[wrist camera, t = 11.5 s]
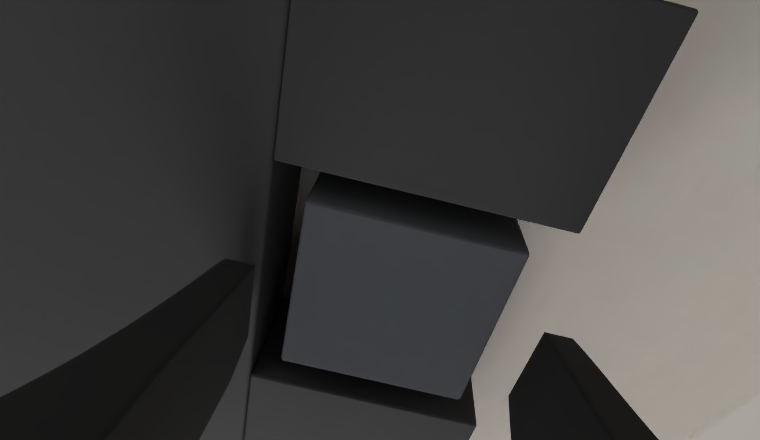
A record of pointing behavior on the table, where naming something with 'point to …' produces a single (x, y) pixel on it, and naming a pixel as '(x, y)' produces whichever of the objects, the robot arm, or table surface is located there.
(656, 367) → the table surface
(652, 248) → the table surface
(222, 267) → the robot arm
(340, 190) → the small block
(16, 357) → the base pad
